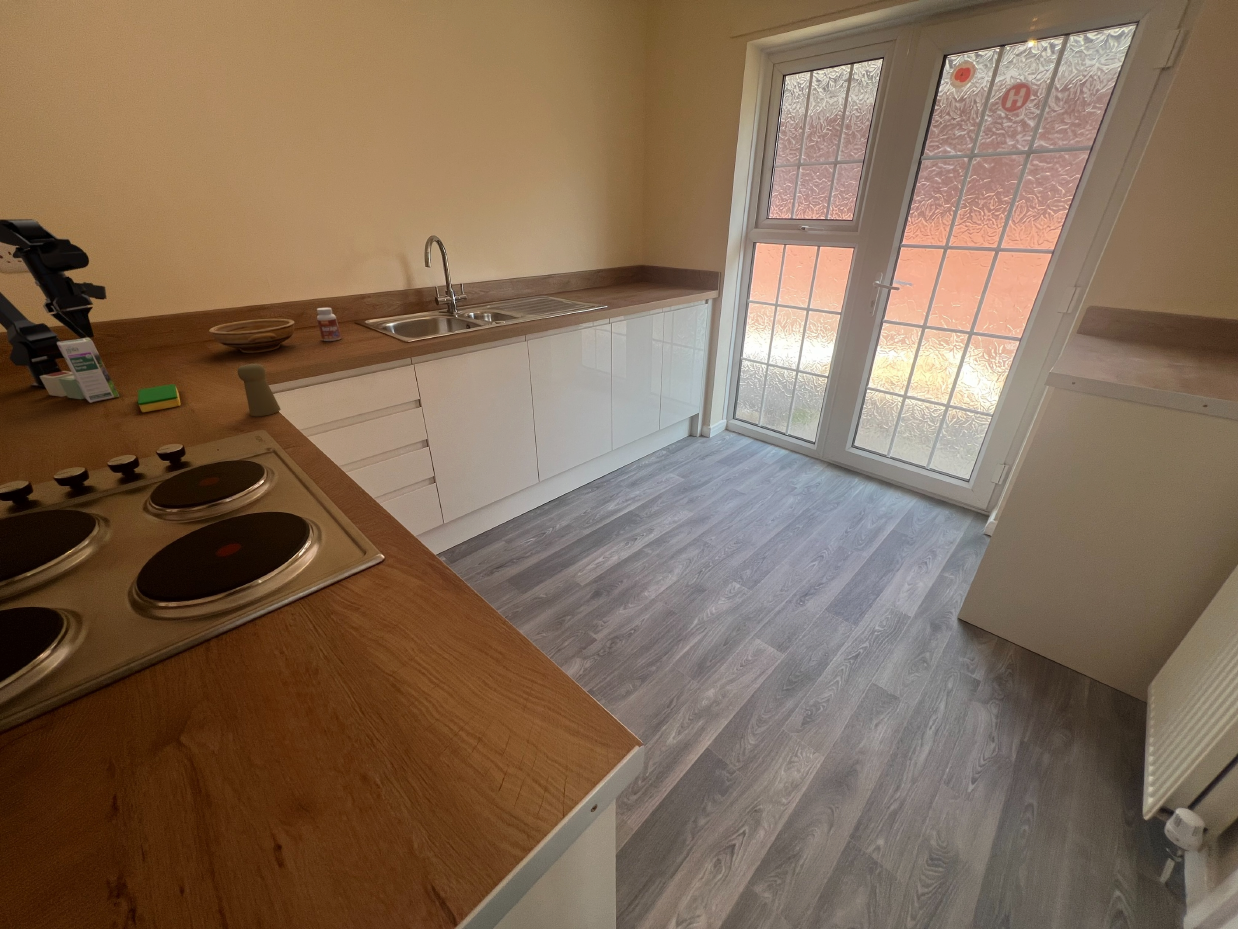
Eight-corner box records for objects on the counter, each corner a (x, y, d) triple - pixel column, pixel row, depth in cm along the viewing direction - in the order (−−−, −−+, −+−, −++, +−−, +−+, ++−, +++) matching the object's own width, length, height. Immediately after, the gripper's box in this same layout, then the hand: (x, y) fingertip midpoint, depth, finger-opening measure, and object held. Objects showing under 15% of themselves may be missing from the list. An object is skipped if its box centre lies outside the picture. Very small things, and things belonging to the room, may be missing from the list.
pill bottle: (324, 342, 180) (315, 310, 175) (321, 339, 184) (312, 308, 180) (342, 339, 183) (334, 308, 178) (340, 337, 188) (332, 306, 183)
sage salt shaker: (248, 418, 112) (230, 370, 107) (251, 409, 117) (235, 363, 112) (279, 413, 115) (263, 366, 110) (281, 405, 120) (266, 360, 115)
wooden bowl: (311, 349, 170) (304, 325, 166) (225, 363, 155) (215, 337, 152) (289, 336, 189) (283, 315, 186) (211, 347, 175) (202, 324, 171)
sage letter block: (67, 397, 127) (57, 378, 125) (91, 391, 131) (82, 372, 129) (80, 399, 125) (70, 379, 123) (104, 393, 130) (94, 374, 127)
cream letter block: (49, 395, 129) (39, 375, 127) (73, 389, 133) (63, 370, 131) (61, 396, 128) (51, 377, 125) (85, 390, 132) (75, 371, 130)
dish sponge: (178, 392, 130) (174, 383, 128) (181, 406, 120) (177, 396, 119) (142, 398, 125) (138, 389, 124) (142, 413, 116) (137, 403, 115)
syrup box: (89, 403, 123) (59, 344, 116) (85, 398, 126) (55, 340, 120) (120, 397, 127) (92, 339, 120) (115, 392, 130) (87, 336, 124)
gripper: (99, 266, 124) (135, 329, 131) (83, 272, 135) (117, 330, 142) (38, 273, 116) (79, 340, 123) (25, 280, 127) (64, 341, 134)
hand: (87, 337), depth 131 cm, fingers open, 9 cm apart
